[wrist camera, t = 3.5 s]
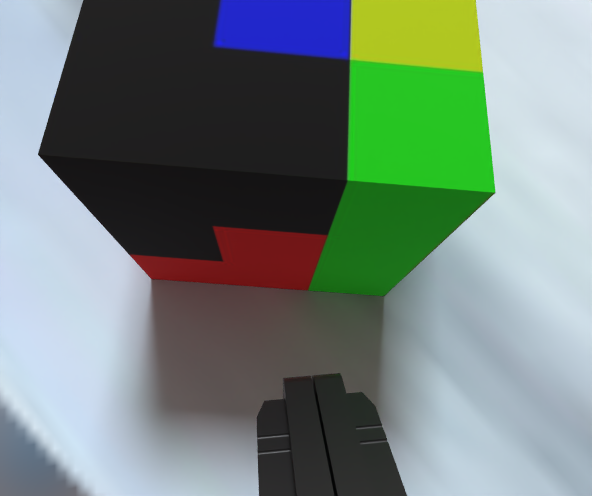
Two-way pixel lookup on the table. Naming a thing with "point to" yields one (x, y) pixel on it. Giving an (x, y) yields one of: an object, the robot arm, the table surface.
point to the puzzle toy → (275, 136)
